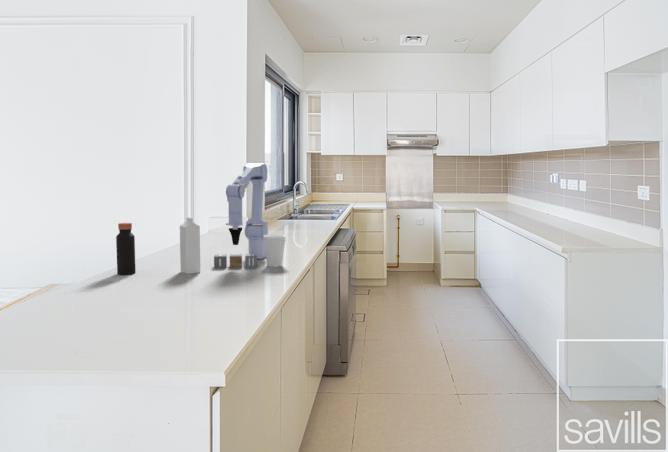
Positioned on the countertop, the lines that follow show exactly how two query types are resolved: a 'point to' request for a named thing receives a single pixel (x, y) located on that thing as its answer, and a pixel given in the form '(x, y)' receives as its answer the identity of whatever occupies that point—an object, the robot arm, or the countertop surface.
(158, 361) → the countertop surface
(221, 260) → the charcoal block
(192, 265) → the milk
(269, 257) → the foam cup
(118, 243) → the bottle
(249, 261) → the slate block
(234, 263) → the walnut block
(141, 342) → the countertop surface
